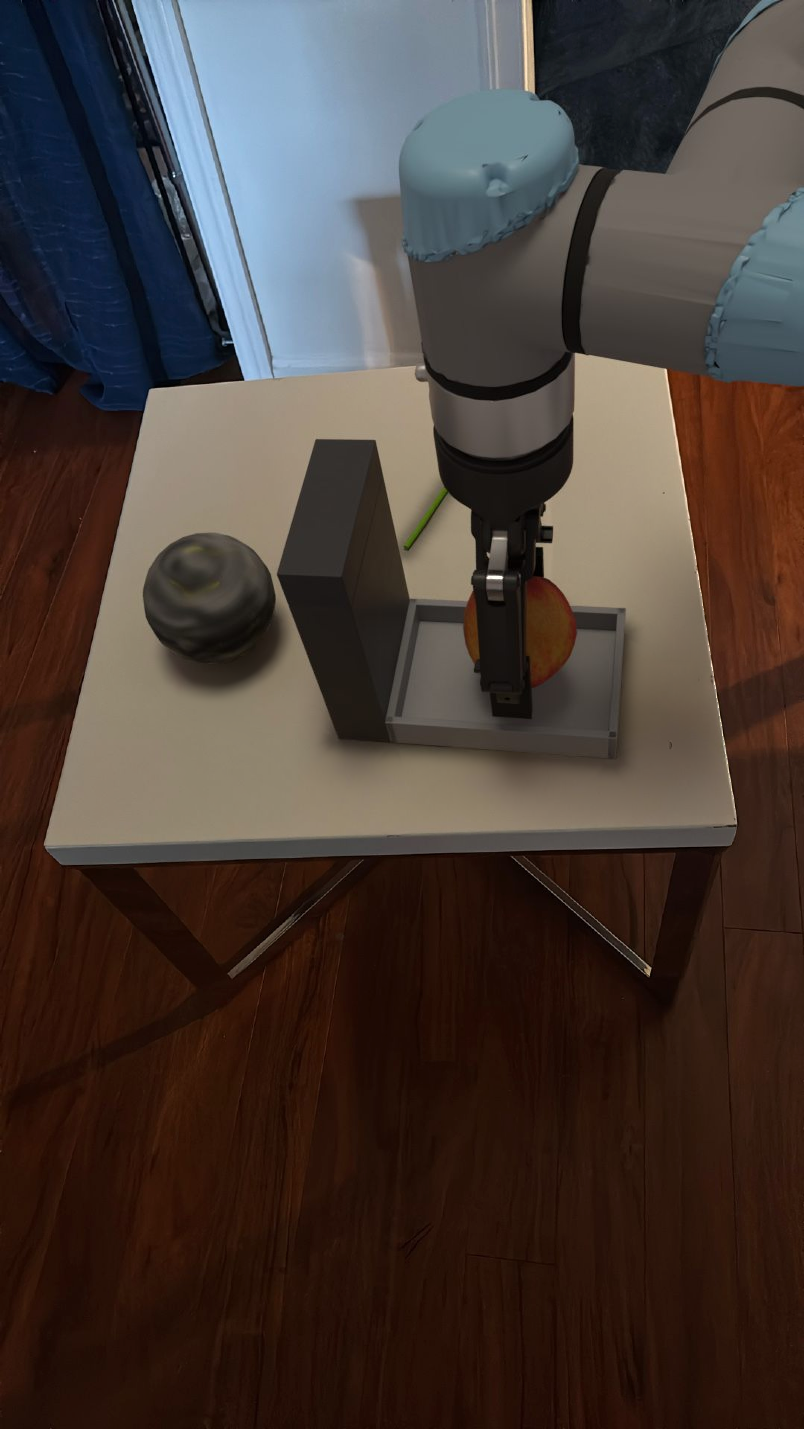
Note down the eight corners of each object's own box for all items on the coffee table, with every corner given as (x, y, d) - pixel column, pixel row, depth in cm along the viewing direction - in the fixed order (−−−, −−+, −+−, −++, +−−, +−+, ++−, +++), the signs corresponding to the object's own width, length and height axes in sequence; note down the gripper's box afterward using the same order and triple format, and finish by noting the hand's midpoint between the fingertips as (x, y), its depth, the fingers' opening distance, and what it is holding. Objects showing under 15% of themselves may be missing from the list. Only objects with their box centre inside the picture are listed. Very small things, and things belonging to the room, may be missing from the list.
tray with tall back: (624, 630, 79) (637, 442, 63) (615, 759, 73) (627, 588, 57) (365, 617, 83) (315, 438, 67) (338, 738, 77) (276, 574, 61)
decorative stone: (267, 696, 80) (232, 617, 72) (150, 681, 82) (102, 603, 74) (303, 594, 85) (274, 509, 76) (191, 583, 87) (151, 499, 79)
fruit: (592, 632, 75) (593, 560, 68) (553, 722, 71) (550, 655, 65) (490, 605, 77) (482, 533, 71) (448, 691, 74) (435, 623, 67)
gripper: (459, 289, 61) (485, 544, 80) (400, 567, 51) (446, 785, 70) (588, 287, 60) (583, 547, 79) (555, 573, 49) (559, 795, 68)
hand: (519, 659), depth 74 cm, fingers closed on fruit, 8 cm apart
